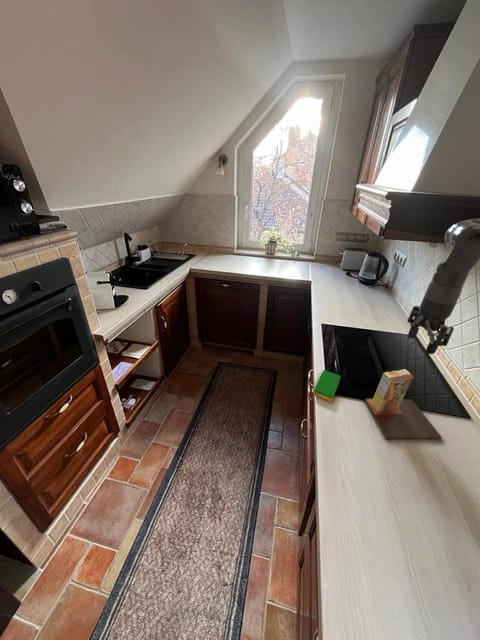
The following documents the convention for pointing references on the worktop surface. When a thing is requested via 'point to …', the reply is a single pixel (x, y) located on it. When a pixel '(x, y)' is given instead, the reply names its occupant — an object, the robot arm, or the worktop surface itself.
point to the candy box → (391, 390)
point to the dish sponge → (327, 385)
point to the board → (403, 422)
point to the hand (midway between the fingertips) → (419, 345)
